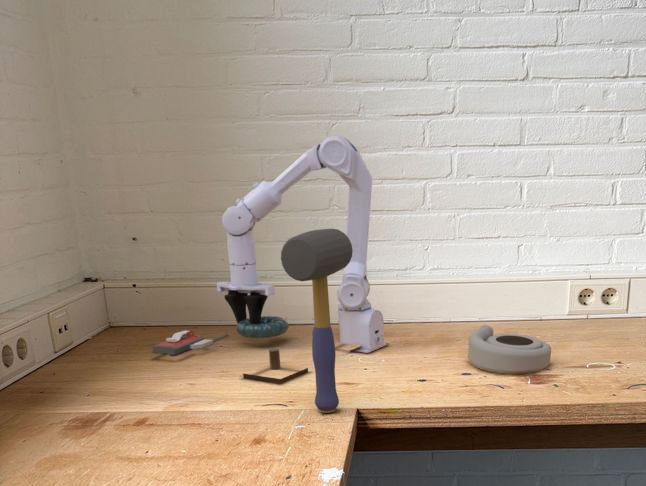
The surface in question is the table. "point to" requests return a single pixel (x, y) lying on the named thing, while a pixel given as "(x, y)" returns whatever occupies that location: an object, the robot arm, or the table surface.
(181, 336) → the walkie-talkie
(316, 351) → the rubber mallet
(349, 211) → the robot arm
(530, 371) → the turbocharger housing
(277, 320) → the hang ring
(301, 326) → the table surface
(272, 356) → the post
